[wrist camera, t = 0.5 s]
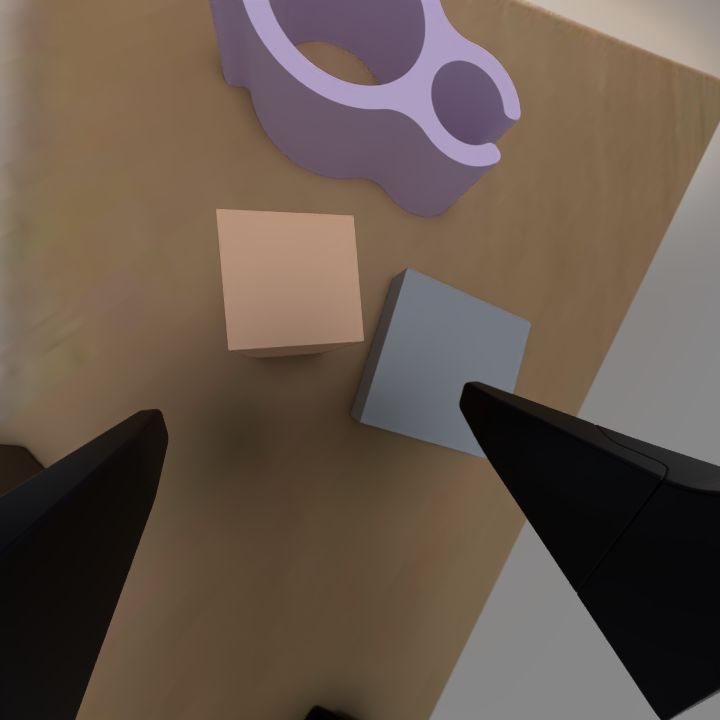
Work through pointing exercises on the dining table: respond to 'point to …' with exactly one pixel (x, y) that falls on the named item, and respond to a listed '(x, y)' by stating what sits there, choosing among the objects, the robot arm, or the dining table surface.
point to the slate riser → (436, 360)
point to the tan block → (289, 282)
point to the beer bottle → (15, 467)
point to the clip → (372, 93)
